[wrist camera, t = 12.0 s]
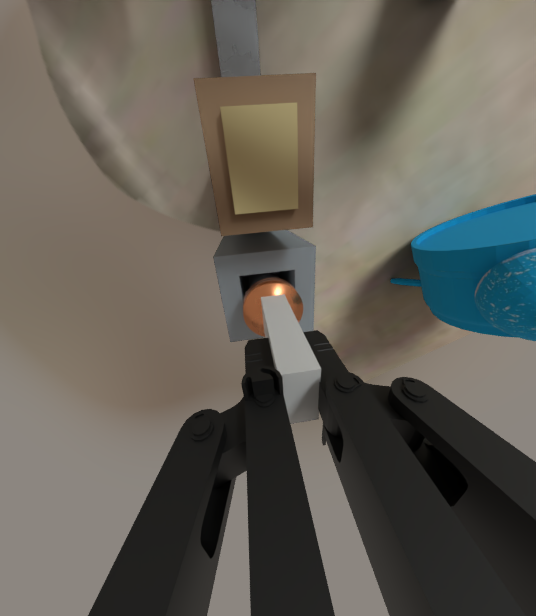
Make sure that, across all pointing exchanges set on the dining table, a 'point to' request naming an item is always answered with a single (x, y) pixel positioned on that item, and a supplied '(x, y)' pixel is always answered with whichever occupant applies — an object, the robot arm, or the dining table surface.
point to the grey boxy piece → (263, 259)
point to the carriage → (260, 150)
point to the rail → (236, 37)
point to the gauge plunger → (261, 288)
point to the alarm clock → (482, 269)
